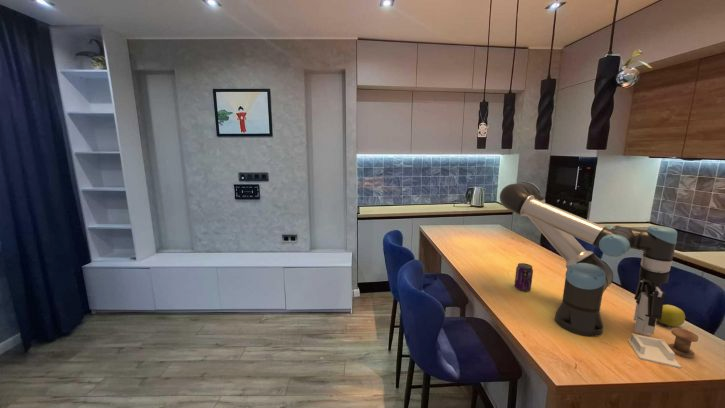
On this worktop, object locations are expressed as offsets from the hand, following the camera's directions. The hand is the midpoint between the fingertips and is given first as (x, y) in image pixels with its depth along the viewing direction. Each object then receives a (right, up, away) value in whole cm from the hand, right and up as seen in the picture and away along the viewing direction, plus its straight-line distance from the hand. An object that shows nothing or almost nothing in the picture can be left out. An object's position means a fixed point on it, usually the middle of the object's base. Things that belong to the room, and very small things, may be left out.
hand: (643, 326), depth 109 cm
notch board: (-8, -4, -11) cm, 14 cm away
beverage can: (-27, +4, +34) cm, 43 cm away
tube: (0, -2, 0) cm, 2 cm away
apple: (+14, -2, +5) cm, 15 cm away
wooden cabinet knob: (+3, -4, -11) cm, 12 cm away
